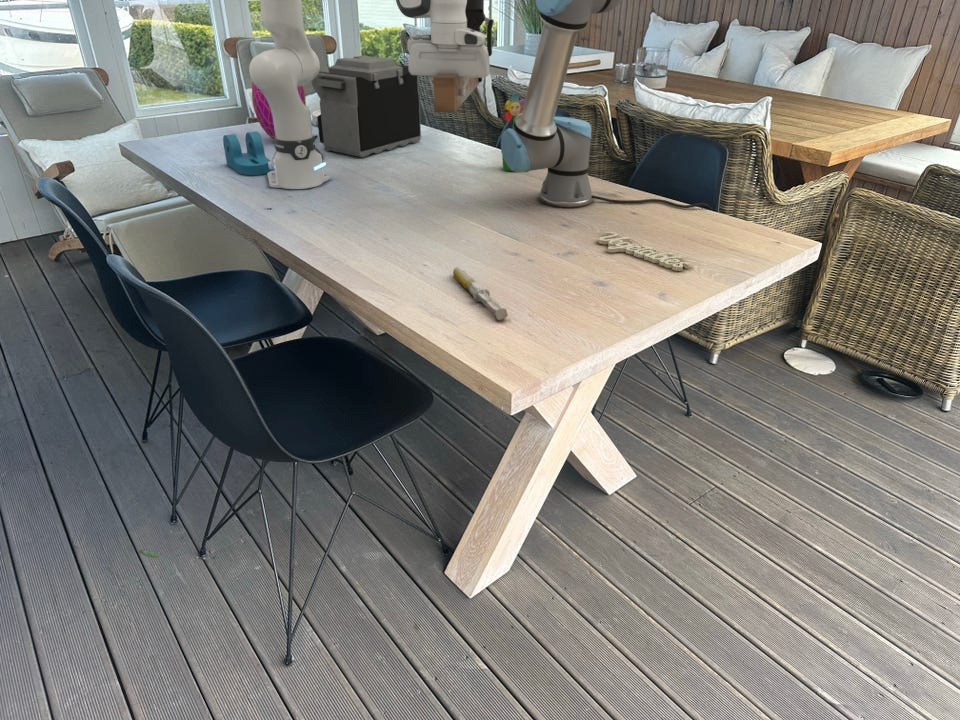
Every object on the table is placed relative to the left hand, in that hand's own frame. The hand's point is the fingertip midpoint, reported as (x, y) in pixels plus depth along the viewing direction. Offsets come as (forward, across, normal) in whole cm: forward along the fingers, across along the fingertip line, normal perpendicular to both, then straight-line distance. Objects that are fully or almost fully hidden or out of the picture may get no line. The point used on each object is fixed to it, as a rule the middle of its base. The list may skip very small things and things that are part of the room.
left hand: (449, 95), depth 174 cm
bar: (+3, 0, +19) cm, 20 cm away
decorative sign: (+31, +50, -21) cm, 63 cm away
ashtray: (+32, -66, +112) cm, 134 cm away
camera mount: (+32, -74, +37) cm, 88 cm away
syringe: (+31, +14, -51) cm, 62 cm away
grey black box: (+32, -42, +74) cm, 91 cm away
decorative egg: (+32, -78, +78) cm, 114 cm away
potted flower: (+32, +13, +51) cm, 61 cm away
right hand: (+2, 0, +39) cm, 39 cm away
